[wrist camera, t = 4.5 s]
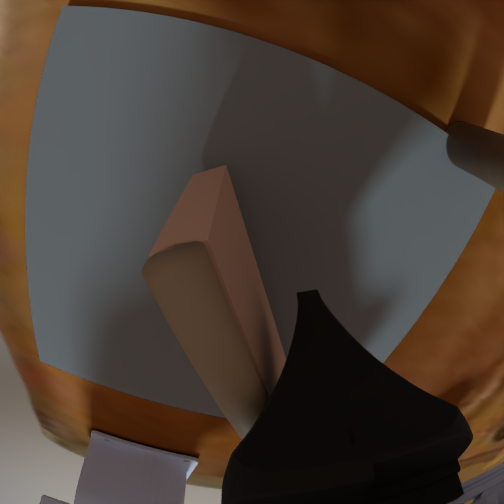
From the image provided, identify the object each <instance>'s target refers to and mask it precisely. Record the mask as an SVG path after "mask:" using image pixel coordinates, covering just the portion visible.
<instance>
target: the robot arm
mask: <svg viewBox="0 0 504 504" xmlns="http://www.w3.org/2000/svg"><path fill="white" fill-rule="evenodd" d="M297 302H298V312H297V320H296V325H295V331H294V335H293V339H292V343H291V346H290V350H289V353H288V356H287V359H286V362H285V365H284V367H283V370H282V372H281V375H280V377H279V380H278V382H277V384H276V386H275V388H274V390H273V392H272V394H271V396H270V398H269V400H268V402H267V404H266V405H265V407H264V409H263V410H262V412H261V413H260V415H259V417H258V418H257V420H256V421H255V423H254V425H253V426H252V428H251V429H250V430H249V432H248V433H247V434H246V436H245V437H244V438H243V440H242V441H241V442H240V444H239V445H238V446H237V447H236V449H235V450H234V451H233V453H232V454H231V457H230V460H229V462H228V465H227V468H226V472H225V475H224V479H223V485H222V500H221V504H464V503H466V502H468V501H471V500H473V499H474V501H473V503H471V504H504V462H503V463H501V464H499V465H497V466H496V467H494V468H492V469H490V470H488V471H486V472H484V473H482V474H480V475H478V476H477V477H474V478H472V479H470V480H468V481H466V482H464V483H461V482H460V479H459V476H458V472H459V471H460V465H459V463H458V460H457V459H458V458H459V457H460V456H461V455H462V453H463V452H464V451H465V450H466V449H467V448H468V446H469V445H470V443H471V441H472V439H473V434H472V431H471V429H470V427H469V425H468V423H467V421H466V419H465V417H464V416H463V414H462V413H461V411H460V410H459V408H458V407H457V406H455V405H452V404H450V403H448V402H446V401H444V400H441V399H439V398H437V397H435V396H433V395H431V394H429V393H427V392H425V391H424V390H422V389H420V388H418V387H417V386H415V385H413V384H412V383H410V382H409V381H407V380H406V379H404V378H403V377H401V376H400V375H398V374H397V373H395V372H394V371H392V370H391V369H389V368H388V367H387V366H386V365H384V364H383V363H382V362H380V361H379V360H378V359H377V358H376V357H374V356H373V355H372V354H371V353H370V352H368V351H367V350H366V349H365V348H364V347H363V346H362V345H361V344H360V343H359V342H358V341H357V340H356V339H355V338H354V337H353V336H352V335H351V334H350V333H349V332H348V331H347V330H346V329H345V328H344V326H343V325H342V324H341V323H340V322H339V321H338V320H337V318H336V317H335V316H334V315H333V314H332V312H331V311H330V310H329V308H328V307H327V306H326V304H325V303H324V302H323V300H322V299H321V296H320V294H319V292H318V290H317V289H315V290H309V291H303V292H297ZM197 464H198V459H197V458H196V457H191V456H186V455H181V454H177V453H172V452H168V451H163V450H159V449H155V448H151V447H148V446H144V445H140V444H137V443H133V442H130V441H126V440H123V439H120V438H117V437H113V436H110V435H107V434H104V433H101V432H98V431H95V430H93V431H91V439H90V442H89V445H88V449H87V452H86V456H85V459H84V463H83V466H82V470H81V474H80V478H79V482H78V485H77V489H76V495H75V500H74V504H184V497H185V487H186V480H187V479H188V477H189V476H190V474H191V473H192V471H193V470H194V468H195V467H196V466H197ZM40 504H69V503H66V502H63V501H60V500H57V499H54V498H51V497H49V496H46V495H43V496H42V497H41V501H40Z"/></svg>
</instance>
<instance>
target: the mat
mask: <svg viewBox="0 0 504 504" xmlns="http://www.w3.org/2000/svg"><path fill="white" fill-rule="evenodd" d="M447 137H448V134H447V133H446V132H445V131H443V130H442V129H440V128H439V127H437V126H436V125H434V124H433V123H431V122H430V121H428V120H427V119H425V118H424V117H422V116H420V115H419V114H417V113H416V112H414V111H412V110H411V109H409V108H407V107H406V106H404V105H402V104H401V103H399V102H397V101H396V100H394V99H392V98H390V97H389V96H387V95H385V94H383V93H381V92H380V91H378V90H376V89H374V88H372V87H370V86H368V85H366V84H364V83H362V82H360V81H359V80H357V79H355V78H352V77H350V76H348V75H346V74H344V73H342V72H340V71H338V70H336V69H333V68H331V67H329V66H327V65H325V64H322V63H320V62H318V61H315V60H313V59H311V58H308V57H306V56H303V55H301V54H298V53H296V52H293V51H290V50H288V49H285V48H282V47H280V46H277V45H274V44H271V43H268V42H265V41H263V40H260V39H256V38H253V37H250V36H247V35H244V34H240V33H237V32H234V31H230V30H227V29H223V28H219V27H215V26H211V25H207V24H203V23H199V22H195V21H190V20H186V19H181V18H176V17H171V16H165V15H159V14H153V13H147V12H140V11H132V10H124V9H114V8H103V7H87V6H63V7H62V10H61V13H60V16H59V18H58V21H57V24H56V27H55V30H54V33H53V37H52V40H51V43H50V47H49V50H48V54H47V57H46V61H45V65H44V69H43V73H42V77H41V81H40V86H39V90H38V95H37V100H36V106H35V111H34V117H33V123H32V130H31V138H30V146H29V155H28V165H27V179H26V199H25V244H26V264H27V278H28V288H29V298H30V306H31V313H32V320H33V327H34V333H35V338H36V344H37V349H38V354H39V359H40V361H42V362H44V363H46V364H49V365H51V366H53V367H56V368H58V369H60V370H63V371H65V372H68V373H70V374H73V375H75V376H78V377H80V378H83V379H86V380H88V381H91V382H94V383H97V384H99V385H102V386H105V387H108V388H111V389H114V390H117V391H120V392H123V393H126V394H130V395H133V396H136V397H139V398H143V399H146V400H150V401H153V402H157V403H161V404H164V405H168V406H172V407H176V408H180V409H184V410H188V411H193V412H197V413H202V414H207V415H211V416H216V417H221V418H226V416H225V415H224V414H223V412H222V411H221V409H220V408H219V406H218V405H217V403H216V402H215V400H214V398H213V397H212V395H211V394H210V392H209V391H208V389H207V388H206V386H205V384H204V383H203V381H202V380H201V378H200V377H199V375H198V373H197V372H196V370H195V368H194V367H193V365H192V364H191V362H190V360H189V359H188V357H187V355H186V354H185V352H184V350H183V348H182V347H181V345H180V343H179V342H178V340H177V338H176V336H175V335H174V333H173V331H172V329H171V328H170V326H169V324H168V322H167V320H166V319H165V317H164V315H163V313H162V311H161V309H160V308H159V306H158V304H157V302H156V300H155V298H154V296H153V295H152V293H151V291H150V289H149V287H148V285H147V283H146V281H145V279H144V277H143V275H142V268H143V266H144V264H145V263H146V261H147V260H148V259H149V258H150V257H149V254H150V252H151V250H152V248H153V246H154V244H155V242H156V240H157V238H158V236H159V235H160V233H161V231H162V229H163V227H164V225H165V223H166V221H167V220H168V218H169V216H170V214H171V212H172V211H173V209H174V207H175V205H176V203H177V202H178V200H179V198H180V196H181V194H182V193H183V191H184V189H185V188H186V186H187V184H188V182H189V181H190V179H191V177H192V175H193V174H197V173H200V172H203V171H207V170H210V169H213V168H217V167H220V166H224V165H226V166H227V169H228V172H229V176H230V179H231V182H232V185H233V188H234V192H235V195H236V198H237V201H238V205H239V208H240V211H241V214H242V218H243V221H244V224H245V227H246V231H247V234H248V237H249V240H250V243H251V247H252V250H253V253H254V256H255V260H256V263H257V266H258V269H259V273H260V276H261V279H262V282H263V286H264V289H265V292H266V295H267V299H268V302H269V305H270V308H271V312H272V315H273V318H274V321H275V324H276V328H277V331H278V334H279V337H280V341H281V344H282V347H283V350H284V354H285V357H286V359H287V356H288V353H289V350H290V346H291V343H292V339H293V335H294V331H295V325H296V320H297V312H298V302H297V292H303V291H309V290H315V289H317V290H318V292H319V294H320V296H321V299H322V300H323V302H324V303H325V304H326V306H327V307H328V308H329V310H330V311H331V312H332V314H333V315H334V316H335V317H336V318H337V320H338V321H339V322H340V323H341V324H342V325H343V326H344V328H345V329H346V330H347V331H348V332H349V333H350V334H351V335H352V336H353V337H354V338H355V339H356V340H357V341H358V342H359V343H360V344H361V345H362V346H363V347H364V348H365V349H366V350H367V351H368V352H370V353H371V354H372V355H373V356H374V357H376V358H377V359H378V360H379V361H380V362H382V363H383V362H384V361H385V360H386V359H387V357H388V356H389V355H390V354H391V353H392V351H393V350H394V349H395V348H396V346H397V345H398V344H399V343H400V341H401V340H402V339H403V338H404V336H405V335H406V334H407V332H408V331H409V330H410V328H411V327H412V326H413V324H414V323H415V322H416V320H417V319H418V318H419V316H420V315H421V314H422V312H423V311H424V309H425V308H426V307H427V305H428V304H429V302H430V301H431V299H432V298H433V297H434V295H435V294H436V292H437V291H438V289H439V288H440V286H441V285H442V283H443V282H444V280H445V279H446V277H447V275H448V274H449V272H450V271H451V269H452V267H453V266H454V264H455V263H456V261H457V259H458V258H459V256H460V254H461V253H462V251H463V249H464V248H465V246H466V244H467V242H468V241H469V239H470V237H471V235H472V234H473V232H474V230H475V228H476V226H477V224H478V223H479V221H480V219H481V217H482V215H483V213H484V211H485V209H486V207H487V205H488V203H489V201H490V199H491V197H492V195H493V193H494V191H495V189H496V188H495V187H493V186H491V185H489V184H488V183H486V182H484V181H482V180H481V179H479V178H477V177H475V176H474V175H472V174H470V173H468V172H466V171H464V170H462V169H460V168H459V167H457V166H455V165H454V164H453V163H452V162H451V161H450V159H449V157H448V154H447V150H446V142H447Z"/></svg>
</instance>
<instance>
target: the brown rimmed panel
mask: <svg viewBox="0 0 504 504" xmlns="http://www.w3.org/2000/svg"><path fill="white" fill-rule="evenodd" d="M149 257H150V258H149V259H148V260H147V261H146V263H145V264H144V266H143V268H142V275H143V277H144V279H145V281H146V283H147V285H148V287H149V289H150V291H151V293H152V295H153V296H154V298H155V300H156V302H157V304H158V306H159V308H160V309H161V311H162V313H163V315H164V317H165V319H166V320H167V322H168V324H169V326H170V328H171V329H172V331H173V333H174V335H175V336H176V338H177V340H178V342H179V343H180V345H181V347H182V348H183V350H184V352H185V354H186V355H187V357H188V359H189V360H190V362H191V364H192V365H193V367H194V368H195V370H196V372H197V373H198V375H199V377H200V378H201V380H202V381H203V383H204V384H205V386H206V388H207V389H208V391H209V392H210V394H211V395H212V397H213V398H214V400H215V402H216V403H217V405H218V406H219V408H220V409H221V411H222V412H223V414H224V415H225V416H226V418H227V419H228V421H229V422H230V424H231V425H232V427H233V428H234V430H235V431H236V432H237V434H238V435H239V437H240V438H241V439H242V440H243V438H244V437H245V436H246V434H247V433H248V432H249V430H250V429H251V428H252V426H253V425H254V423H255V421H256V420H257V418H258V417H259V415H260V413H261V412H262V410H263V409H264V407H265V405H266V404H267V402H268V400H269V398H270V396H271V394H272V392H273V390H274V388H275V386H276V384H277V382H278V380H279V377H280V375H281V372H282V370H283V367H284V365H285V362H286V357H285V354H284V350H283V347H282V344H281V341H280V337H279V334H278V331H277V328H276V324H275V321H274V318H273V315H272V312H271V308H270V305H269V302H268V299H267V295H266V292H265V289H264V286H263V282H262V279H261V276H260V273H259V269H258V266H257V263H256V260H255V256H254V253H253V250H252V247H251V243H250V240H249V237H248V234H247V231H246V227H245V224H244V221H243V218H242V214H241V211H240V208H239V205H238V201H237V198H236V195H235V192H234V188H233V185H232V182H231V179H230V176H229V172H228V169H227V166H226V165H224V166H220V167H217V168H213V169H210V170H207V171H203V172H200V173H197V174H193V175H192V177H191V179H190V181H189V182H188V184H187V186H186V188H185V189H184V191H183V193H182V194H181V196H180V198H179V200H178V202H177V203H176V205H175V207H174V209H173V211H172V212H171V214H170V216H169V218H168V220H167V221H166V223H165V225H164V227H163V229H162V231H161V233H160V235H159V236H158V238H157V240H156V242H155V244H154V246H153V248H152V250H151V252H150V254H149Z"/></svg>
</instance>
